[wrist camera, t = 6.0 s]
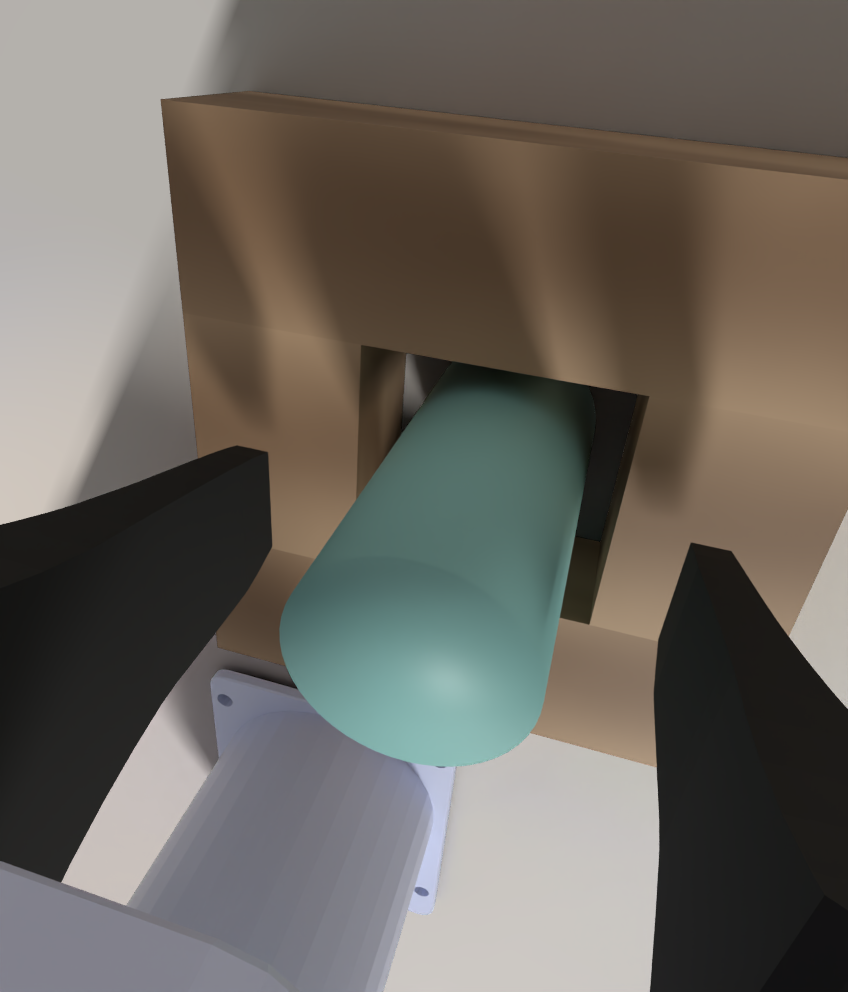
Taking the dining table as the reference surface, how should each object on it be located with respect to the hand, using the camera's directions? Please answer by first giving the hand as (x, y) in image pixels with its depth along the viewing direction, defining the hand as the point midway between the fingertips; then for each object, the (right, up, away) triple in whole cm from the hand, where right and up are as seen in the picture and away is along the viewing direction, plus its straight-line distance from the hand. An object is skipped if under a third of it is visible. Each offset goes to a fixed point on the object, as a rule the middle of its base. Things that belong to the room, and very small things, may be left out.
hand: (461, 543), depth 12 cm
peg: (+1, +3, +4) cm, 5 cm away
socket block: (+1, +2, +4) cm, 5 cm away
